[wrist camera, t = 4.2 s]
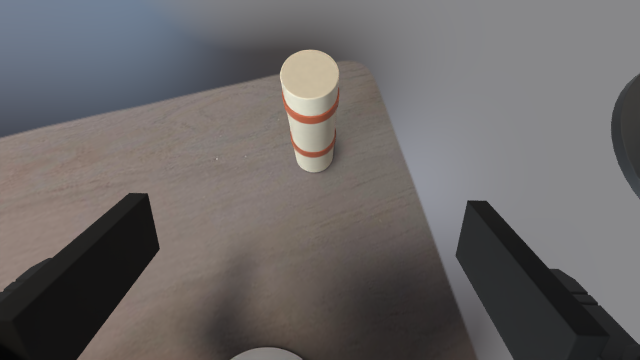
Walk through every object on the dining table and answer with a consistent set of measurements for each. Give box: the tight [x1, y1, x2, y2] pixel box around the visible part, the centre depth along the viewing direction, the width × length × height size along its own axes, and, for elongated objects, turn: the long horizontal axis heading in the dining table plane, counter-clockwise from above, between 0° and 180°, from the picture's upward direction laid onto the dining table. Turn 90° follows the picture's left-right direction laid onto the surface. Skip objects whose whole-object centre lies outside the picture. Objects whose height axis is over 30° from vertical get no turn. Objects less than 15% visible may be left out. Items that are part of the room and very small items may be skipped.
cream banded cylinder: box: [280, 50, 339, 172], centre depth 27 cm, size 4×4×13 cm
